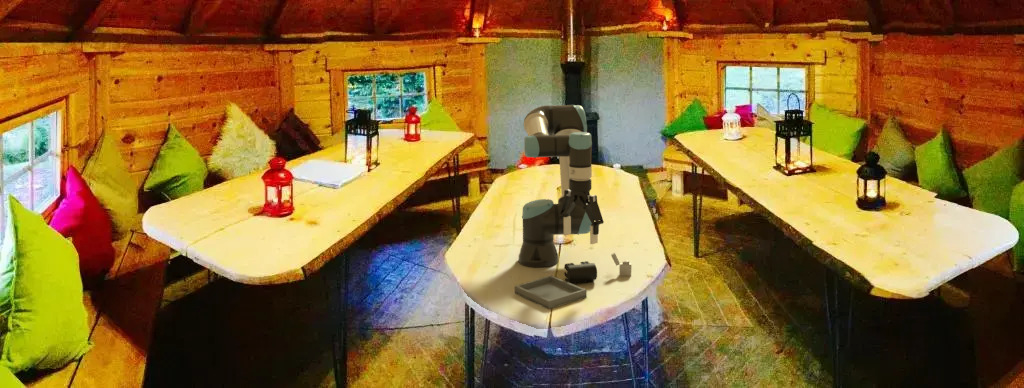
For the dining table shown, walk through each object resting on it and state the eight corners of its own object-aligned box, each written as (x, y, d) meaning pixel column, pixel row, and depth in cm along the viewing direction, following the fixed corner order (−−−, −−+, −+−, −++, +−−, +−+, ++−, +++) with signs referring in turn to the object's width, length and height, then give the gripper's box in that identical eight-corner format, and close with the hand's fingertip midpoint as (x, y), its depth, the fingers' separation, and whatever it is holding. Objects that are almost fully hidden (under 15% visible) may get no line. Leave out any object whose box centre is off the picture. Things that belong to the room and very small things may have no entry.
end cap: (570, 287, 243) (570, 268, 241) (563, 280, 250) (563, 262, 248) (597, 284, 246) (597, 265, 244) (589, 277, 252) (589, 259, 251)
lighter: (631, 274, 254) (631, 253, 252) (631, 276, 252) (631, 254, 251) (611, 273, 255) (611, 252, 253) (611, 275, 253) (611, 254, 251)
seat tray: (514, 293, 238) (514, 285, 238) (551, 282, 248) (551, 275, 247) (549, 309, 224) (548, 301, 224) (586, 297, 234) (586, 289, 233)
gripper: (548, 174, 247) (548, 233, 251) (597, 185, 227) (597, 249, 232) (564, 171, 251) (564, 229, 256) (614, 182, 232) (613, 244, 236)
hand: (580, 239), depth 244 cm, fingers open, 13 cm apart
